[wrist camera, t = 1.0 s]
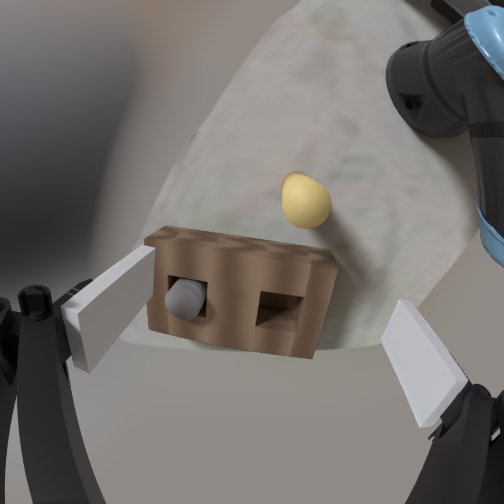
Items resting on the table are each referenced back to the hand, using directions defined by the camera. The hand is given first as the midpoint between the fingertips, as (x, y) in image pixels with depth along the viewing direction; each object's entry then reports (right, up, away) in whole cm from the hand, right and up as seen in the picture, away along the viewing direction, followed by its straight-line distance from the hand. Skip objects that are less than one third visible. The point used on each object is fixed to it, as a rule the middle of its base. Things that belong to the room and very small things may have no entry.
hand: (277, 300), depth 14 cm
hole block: (-3, -2, +28) cm, 28 cm away
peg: (+5, +11, +22) cm, 25 cm away
